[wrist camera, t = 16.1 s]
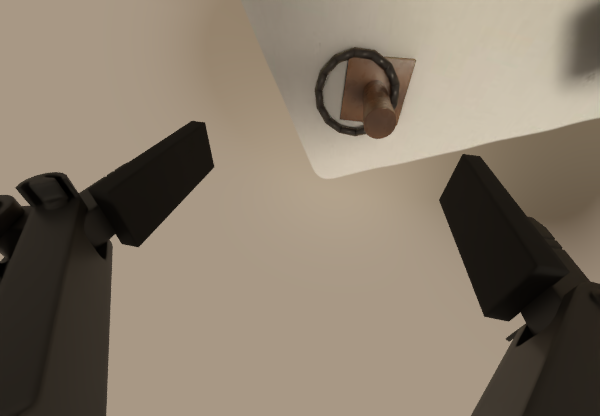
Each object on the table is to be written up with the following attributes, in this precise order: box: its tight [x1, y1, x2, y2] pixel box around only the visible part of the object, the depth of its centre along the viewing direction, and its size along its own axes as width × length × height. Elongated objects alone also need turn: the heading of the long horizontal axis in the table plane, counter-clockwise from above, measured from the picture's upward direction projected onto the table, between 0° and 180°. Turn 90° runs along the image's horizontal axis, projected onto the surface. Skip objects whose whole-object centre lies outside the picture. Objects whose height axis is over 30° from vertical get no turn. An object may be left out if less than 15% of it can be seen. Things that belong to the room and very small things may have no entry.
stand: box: [340, 57, 416, 139], centre depth 28 cm, size 8×8×13 cm
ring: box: [315, 47, 400, 136], centre depth 33 cm, size 11×11×1 cm
